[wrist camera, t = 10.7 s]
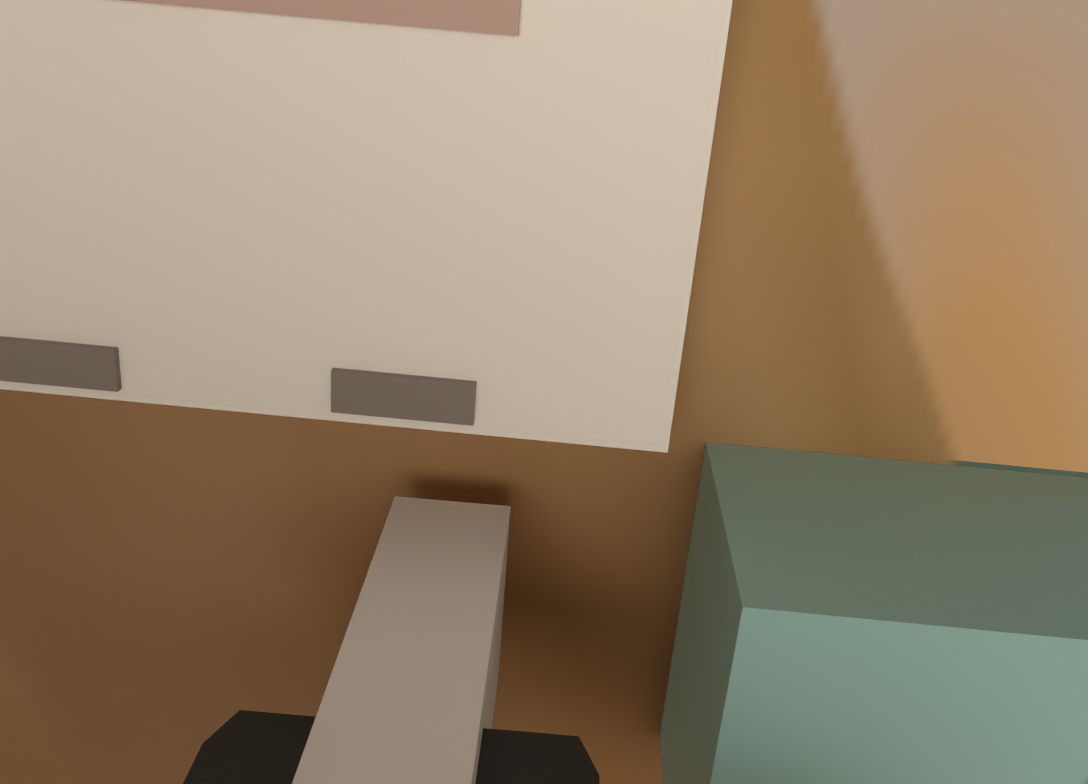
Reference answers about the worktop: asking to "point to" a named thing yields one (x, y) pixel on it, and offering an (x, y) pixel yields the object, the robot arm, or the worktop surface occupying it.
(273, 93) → the slab
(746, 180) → the worktop surface
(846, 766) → the stub
